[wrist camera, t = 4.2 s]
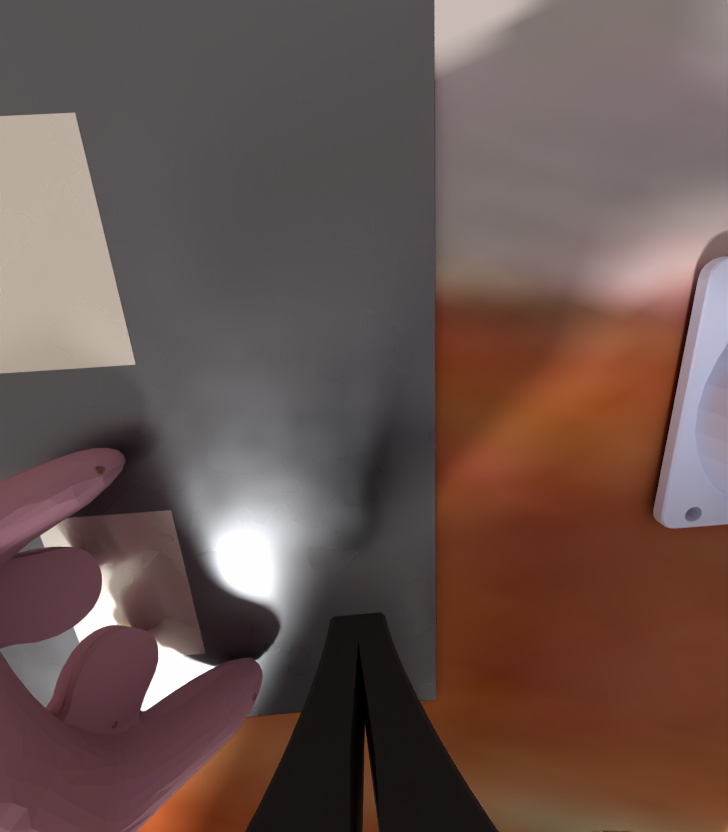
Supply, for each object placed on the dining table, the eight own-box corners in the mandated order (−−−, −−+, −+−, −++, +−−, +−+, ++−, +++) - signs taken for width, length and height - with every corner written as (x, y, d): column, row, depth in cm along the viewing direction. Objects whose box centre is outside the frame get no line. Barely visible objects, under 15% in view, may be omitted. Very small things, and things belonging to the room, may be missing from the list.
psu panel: (432, -87, 8) (434, -98, 8) (434, 694, 14) (436, 700, 14) (-598, -50, 7) (-627, -61, 7) (-107, 743, 14) (-114, 749, 14)
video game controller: (46, 450, 12) (-397, 658, 6) (123, 424, 10) (-454, 708, 4) (198, 662, 15) (-12, 939, 9) (284, 679, 13) (78, 1057, 7)
